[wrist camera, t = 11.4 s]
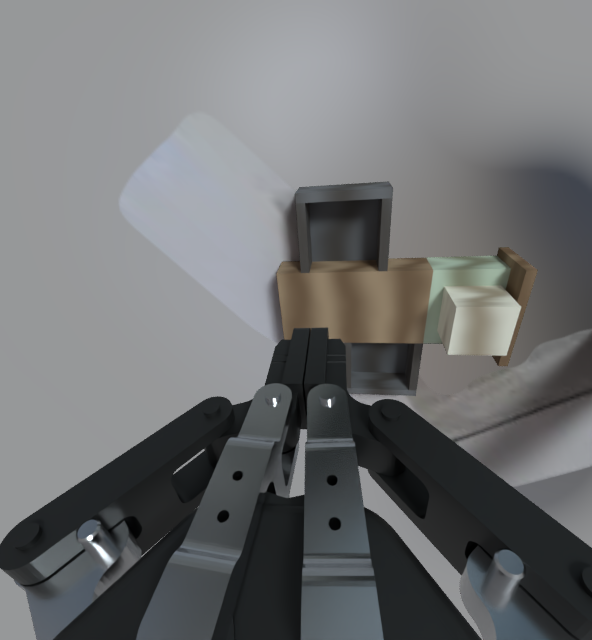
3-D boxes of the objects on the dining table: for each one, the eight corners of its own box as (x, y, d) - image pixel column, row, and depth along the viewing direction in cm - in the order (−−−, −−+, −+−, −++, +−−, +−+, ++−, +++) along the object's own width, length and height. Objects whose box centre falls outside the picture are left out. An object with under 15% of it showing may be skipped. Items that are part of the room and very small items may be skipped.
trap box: (527, 172, 34) (565, 183, 28) (474, 378, 48) (492, 414, 42) (274, 188, 38) (260, 201, 32) (294, 373, 53) (287, 406, 47)
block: (501, 285, 37) (521, 306, 32) (489, 330, 40) (506, 355, 35) (444, 286, 37) (456, 307, 33) (437, 330, 40) (447, 354, 36)
